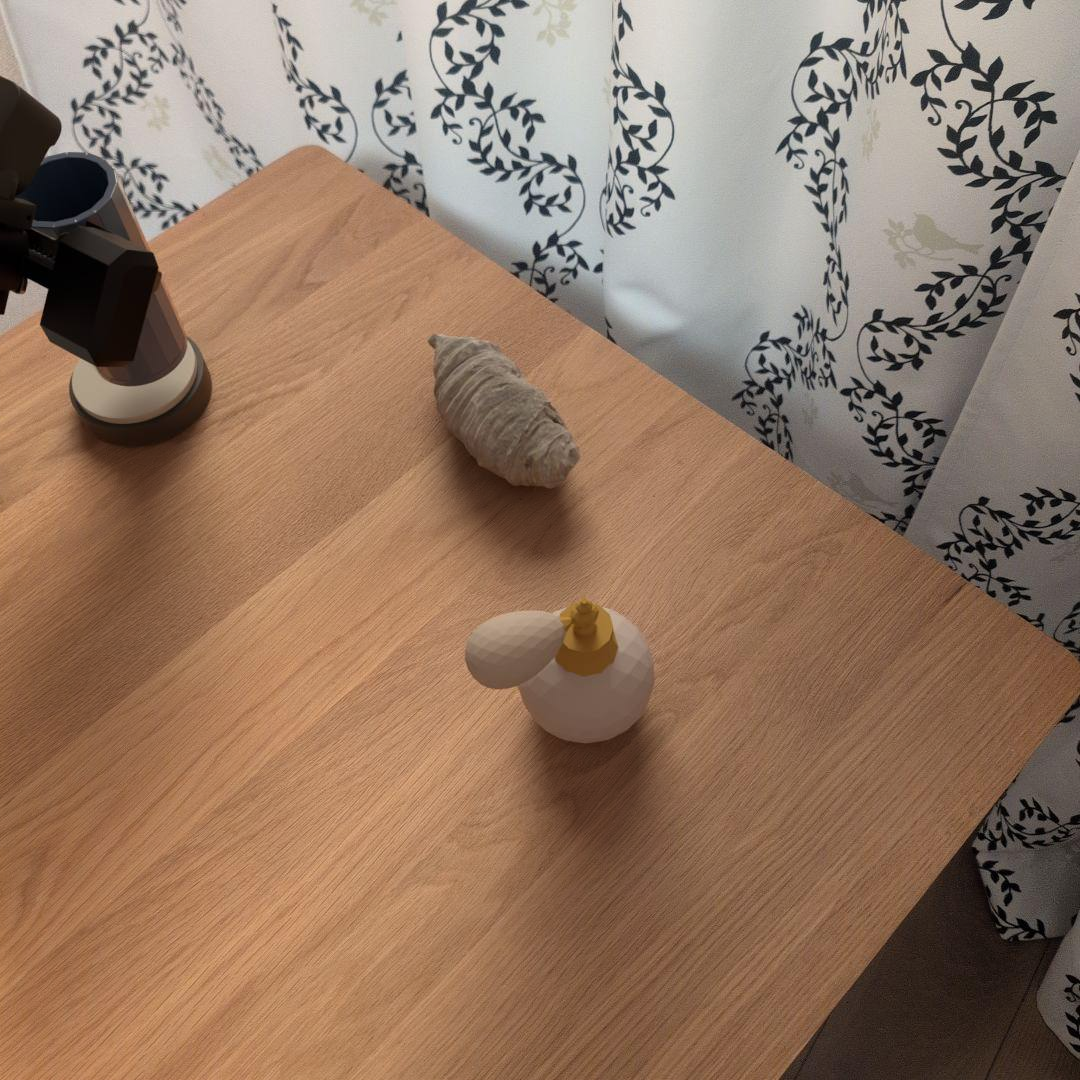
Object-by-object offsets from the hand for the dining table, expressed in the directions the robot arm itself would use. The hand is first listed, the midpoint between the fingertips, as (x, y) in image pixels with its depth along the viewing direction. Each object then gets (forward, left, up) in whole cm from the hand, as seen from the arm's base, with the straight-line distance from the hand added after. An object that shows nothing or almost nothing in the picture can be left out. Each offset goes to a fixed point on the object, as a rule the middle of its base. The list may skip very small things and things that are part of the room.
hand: (119, 260), depth 68 cm
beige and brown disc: (-2, +1, -12) cm, 13 cm away
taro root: (+18, -13, -13) cm, 25 cm away
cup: (-1, -1, -7) cm, 7 cm away
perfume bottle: (+14, -33, -13) cm, 38 cm away
